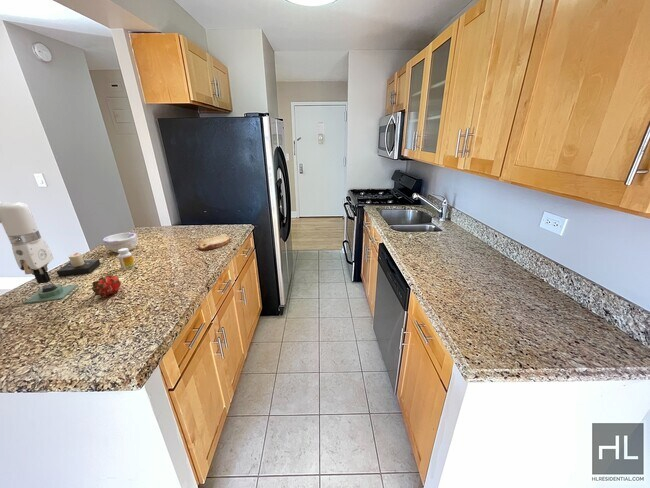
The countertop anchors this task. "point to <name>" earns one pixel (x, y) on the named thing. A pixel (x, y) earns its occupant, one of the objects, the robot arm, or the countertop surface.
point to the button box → (52, 294)
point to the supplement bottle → (125, 259)
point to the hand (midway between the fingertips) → (44, 282)
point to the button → (49, 288)
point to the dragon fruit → (106, 285)
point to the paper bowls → (120, 241)
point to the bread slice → (214, 242)
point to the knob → (76, 260)
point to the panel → (79, 268)
